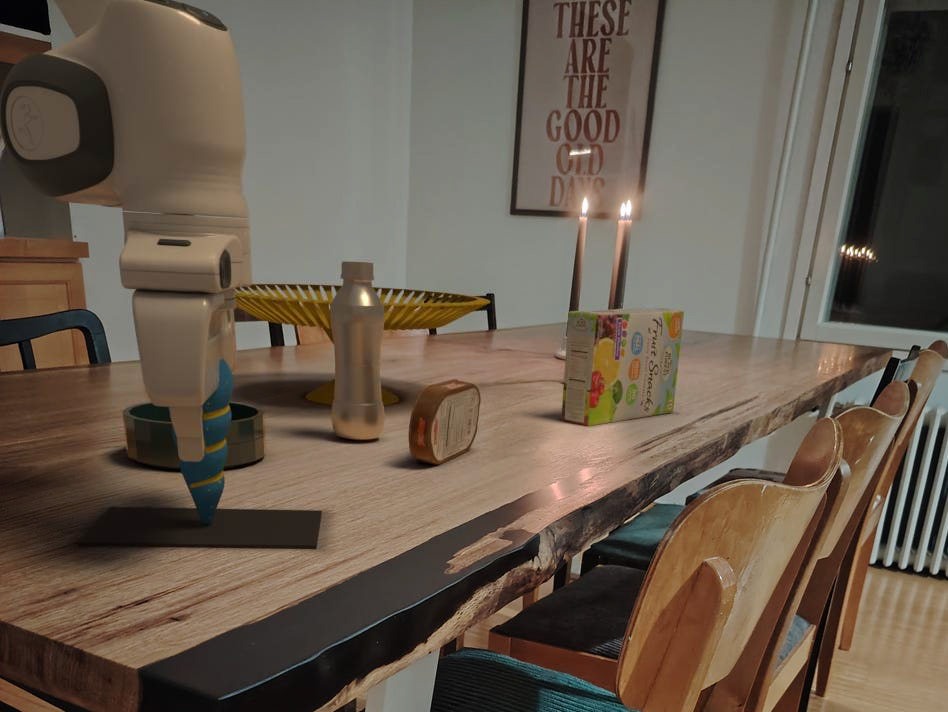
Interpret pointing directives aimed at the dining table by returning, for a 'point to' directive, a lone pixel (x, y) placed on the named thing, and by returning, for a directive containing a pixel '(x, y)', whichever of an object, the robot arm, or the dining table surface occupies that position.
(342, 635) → the dining table surface
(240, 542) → the mat
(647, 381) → the snack box
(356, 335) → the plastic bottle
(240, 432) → the bowl
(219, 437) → the ornament
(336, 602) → the dining table surface
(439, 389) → the tin
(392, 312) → the cake stand
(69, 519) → the dining table surface
